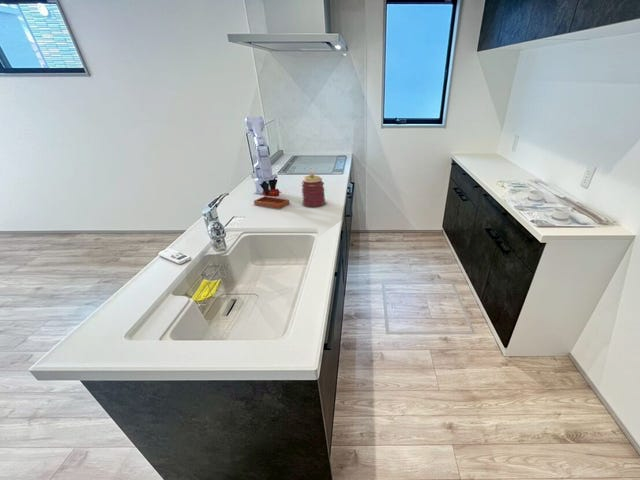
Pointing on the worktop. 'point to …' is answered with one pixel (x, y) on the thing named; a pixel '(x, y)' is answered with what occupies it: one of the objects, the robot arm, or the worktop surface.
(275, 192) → the vegetable
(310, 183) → the kitchen canister
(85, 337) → the worktop surface
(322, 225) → the worktop surface
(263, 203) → the tray
